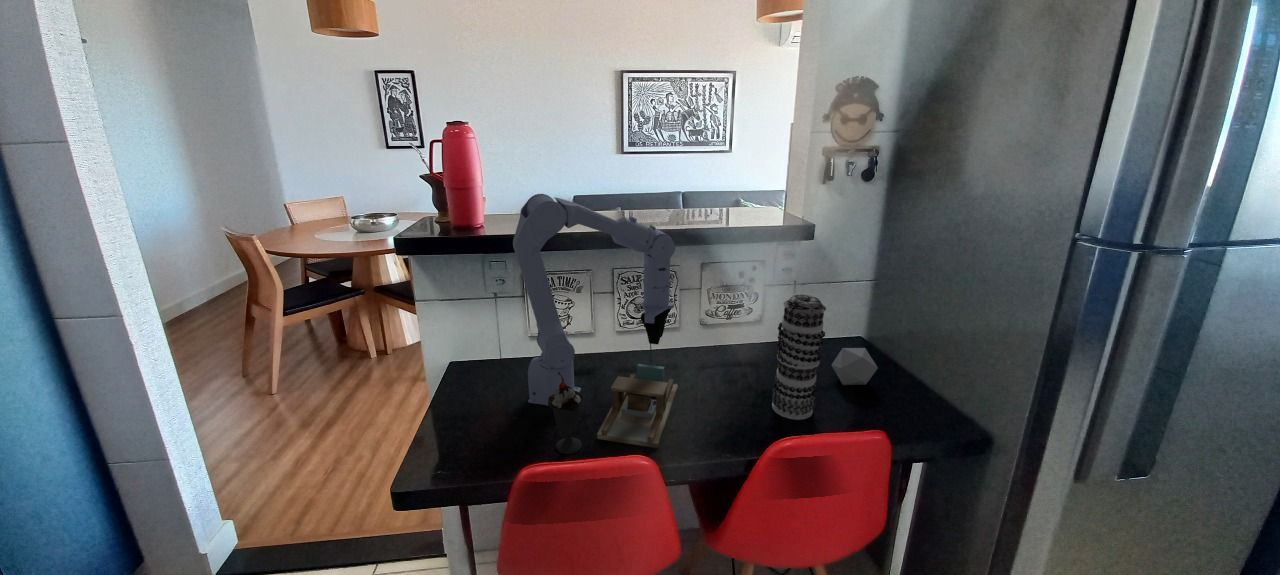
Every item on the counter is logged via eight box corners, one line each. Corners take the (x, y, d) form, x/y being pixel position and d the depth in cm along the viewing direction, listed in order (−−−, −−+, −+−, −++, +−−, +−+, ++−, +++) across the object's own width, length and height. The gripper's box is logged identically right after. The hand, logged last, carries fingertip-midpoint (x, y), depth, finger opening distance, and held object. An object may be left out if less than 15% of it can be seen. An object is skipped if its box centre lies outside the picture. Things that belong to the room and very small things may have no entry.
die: (864, 375, 122) (842, 339, 122) (891, 374, 113) (868, 336, 113) (840, 394, 119) (818, 359, 119) (867, 395, 111) (843, 357, 111)
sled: (621, 414, 103) (621, 394, 101) (637, 381, 115) (637, 363, 114) (651, 418, 101) (652, 399, 100) (664, 385, 114) (665, 367, 112)
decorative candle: (766, 415, 105) (778, 303, 96) (773, 393, 113) (784, 288, 104) (812, 425, 101) (828, 310, 93) (815, 401, 110) (830, 294, 101)
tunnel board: (597, 438, 97) (596, 407, 95) (627, 381, 117) (626, 355, 115) (657, 448, 94) (658, 416, 92) (677, 388, 114) (678, 361, 112)
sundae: (559, 432, 99) (555, 364, 94) (591, 438, 97) (589, 370, 92) (544, 453, 93) (539, 382, 88) (578, 460, 91) (574, 388, 86)
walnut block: (627, 411, 103) (627, 394, 102) (632, 400, 107) (632, 384, 105) (646, 413, 102) (646, 396, 101) (651, 403, 106) (651, 386, 104)
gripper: (668, 297, 104) (666, 355, 108) (679, 275, 117) (678, 328, 121) (635, 294, 105) (635, 352, 110) (650, 273, 118) (649, 325, 123)
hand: (655, 339), depth 116 cm, fingers open, 3 cm apart
